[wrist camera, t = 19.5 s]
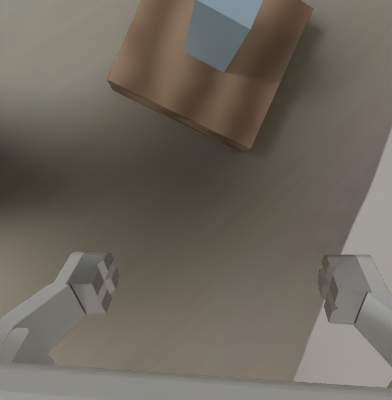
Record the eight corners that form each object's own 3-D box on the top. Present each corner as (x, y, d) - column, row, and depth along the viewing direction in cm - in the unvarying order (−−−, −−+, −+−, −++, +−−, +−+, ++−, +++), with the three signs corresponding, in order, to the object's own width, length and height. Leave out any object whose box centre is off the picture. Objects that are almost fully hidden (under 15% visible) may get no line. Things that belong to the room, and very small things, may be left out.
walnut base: (112, 90, 36) (107, 79, 32) (171, -46, 36) (173, -73, 32) (241, 151, 39) (250, 148, 35) (297, 25, 38) (313, 8, 34)
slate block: (184, 52, 33) (194, -2, 23) (202, 10, 33) (220, -61, 23) (223, 72, 34) (250, 29, 24) (241, 32, 34) (275, -28, 24)
